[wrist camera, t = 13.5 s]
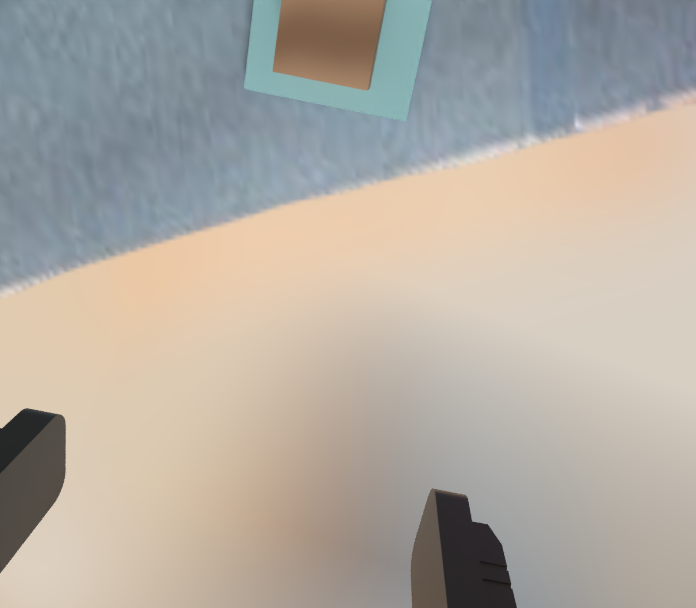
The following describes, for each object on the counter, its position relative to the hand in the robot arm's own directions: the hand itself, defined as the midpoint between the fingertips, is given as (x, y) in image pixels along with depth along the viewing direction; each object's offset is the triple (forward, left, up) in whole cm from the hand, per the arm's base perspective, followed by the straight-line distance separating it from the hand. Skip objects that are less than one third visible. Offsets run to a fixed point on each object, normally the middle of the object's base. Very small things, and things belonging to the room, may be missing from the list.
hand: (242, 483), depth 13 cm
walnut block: (-2, +10, -27) cm, 29 cm away
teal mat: (-2, +10, -28) cm, 30 cm away
